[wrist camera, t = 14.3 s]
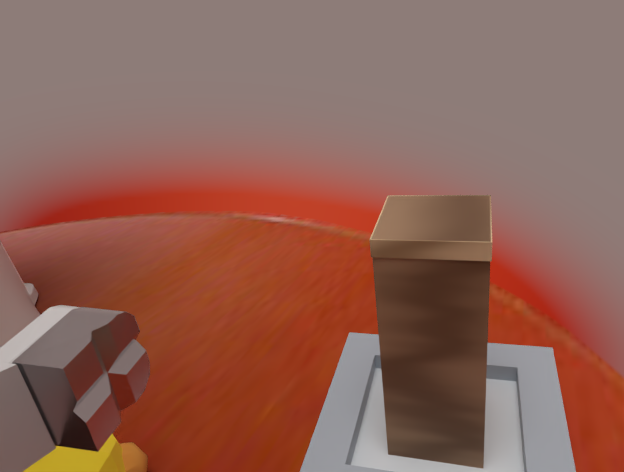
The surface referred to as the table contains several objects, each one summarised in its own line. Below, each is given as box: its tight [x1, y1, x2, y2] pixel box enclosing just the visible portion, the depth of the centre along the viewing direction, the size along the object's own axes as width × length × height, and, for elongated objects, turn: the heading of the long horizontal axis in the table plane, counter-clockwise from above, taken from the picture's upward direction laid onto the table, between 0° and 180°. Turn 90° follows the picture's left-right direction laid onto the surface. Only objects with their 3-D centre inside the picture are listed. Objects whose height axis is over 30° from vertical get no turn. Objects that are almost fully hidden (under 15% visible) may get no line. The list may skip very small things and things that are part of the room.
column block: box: [370, 195, 492, 468], centre depth 24 cm, size 5×5×12 cm
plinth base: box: [300, 332, 576, 472], centre depth 27 cm, size 12×12×3 cm
